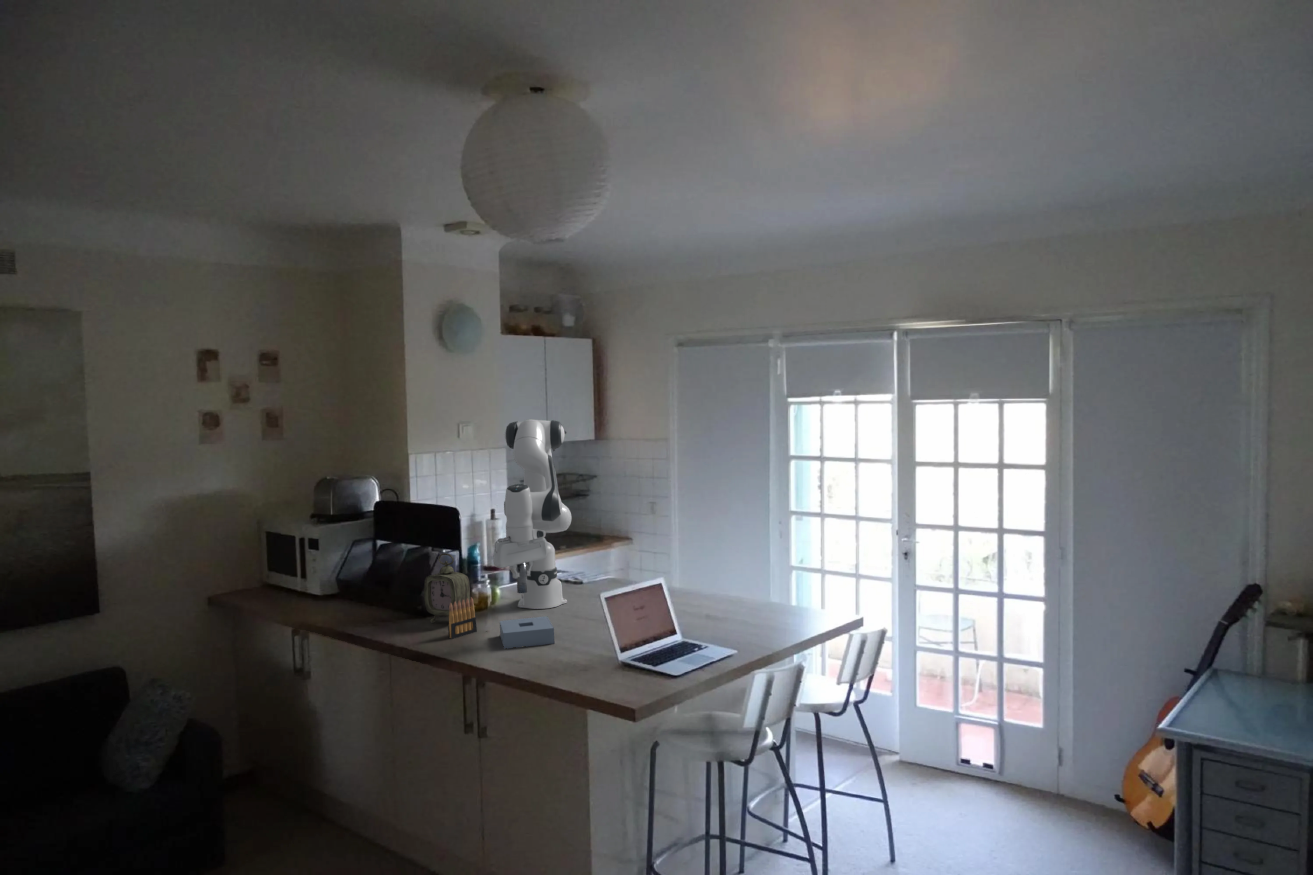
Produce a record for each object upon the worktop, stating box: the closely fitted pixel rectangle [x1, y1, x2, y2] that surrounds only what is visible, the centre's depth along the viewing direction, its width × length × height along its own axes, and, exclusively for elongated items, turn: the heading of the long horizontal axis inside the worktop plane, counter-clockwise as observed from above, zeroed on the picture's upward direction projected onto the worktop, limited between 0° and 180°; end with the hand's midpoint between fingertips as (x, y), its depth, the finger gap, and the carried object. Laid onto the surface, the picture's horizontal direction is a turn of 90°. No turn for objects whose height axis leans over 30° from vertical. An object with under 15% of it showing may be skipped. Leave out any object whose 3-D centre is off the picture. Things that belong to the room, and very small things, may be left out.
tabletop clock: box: [423, 552, 471, 624], centre depth 304 cm, size 14×9×25 cm, turn 62°
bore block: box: [499, 615, 555, 650], centre depth 279 cm, size 16×16×5 cm
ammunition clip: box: [447, 596, 478, 640], centre depth 287 cm, size 11×2×12 cm, turn 142°
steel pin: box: [515, 563, 527, 594], centre depth 278 cm, size 3×3×10 cm
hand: (521, 576), depth 278 cm, fingers closed on steel pin, 3 cm apart
